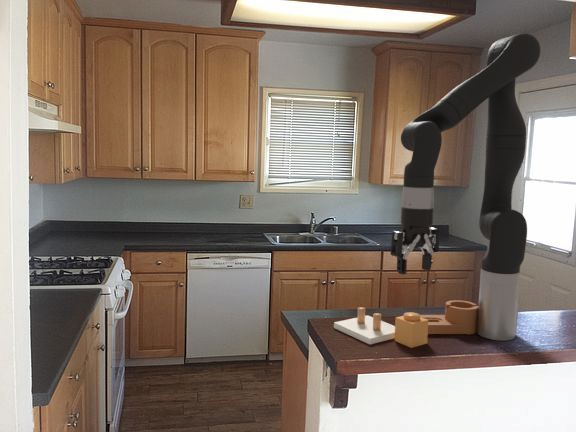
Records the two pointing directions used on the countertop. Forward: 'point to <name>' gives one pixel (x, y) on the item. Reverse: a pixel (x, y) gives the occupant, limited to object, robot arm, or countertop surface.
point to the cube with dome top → (411, 329)
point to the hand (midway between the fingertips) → (414, 271)
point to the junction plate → (367, 328)
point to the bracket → (454, 319)
